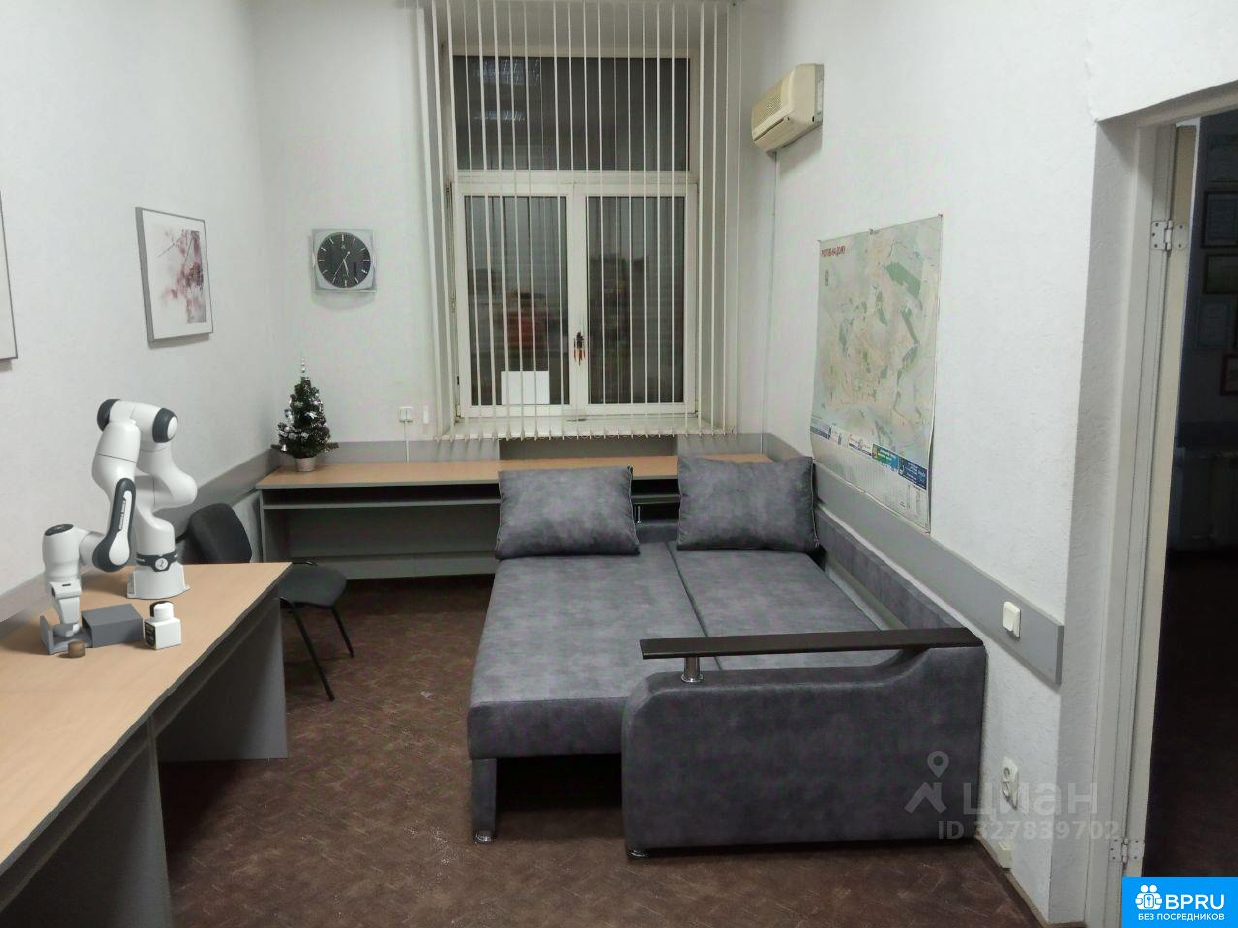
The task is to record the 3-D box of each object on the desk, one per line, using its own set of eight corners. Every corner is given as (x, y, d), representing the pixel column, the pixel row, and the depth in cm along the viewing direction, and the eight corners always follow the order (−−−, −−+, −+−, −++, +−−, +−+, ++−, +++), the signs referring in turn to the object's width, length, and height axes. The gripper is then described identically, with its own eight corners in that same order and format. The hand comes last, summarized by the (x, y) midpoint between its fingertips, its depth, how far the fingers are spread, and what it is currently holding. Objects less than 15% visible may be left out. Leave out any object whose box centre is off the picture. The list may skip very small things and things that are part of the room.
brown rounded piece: (67, 654, 268) (66, 642, 267) (84, 651, 270) (83, 639, 270) (69, 659, 265) (68, 646, 264) (86, 656, 267) (85, 643, 267)
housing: (82, 631, 286) (80, 610, 285) (131, 623, 294) (130, 603, 293) (92, 647, 273) (91, 626, 272) (144, 639, 281) (142, 617, 280)
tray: (41, 638, 280) (39, 615, 278) (93, 629, 287) (91, 607, 286) (49, 654, 267) (48, 631, 266) (104, 645, 275) (102, 622, 274)
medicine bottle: (145, 643, 278) (142, 602, 276) (170, 637, 283) (168, 597, 281) (155, 650, 273) (153, 608, 271) (181, 644, 278) (179, 602, 276)
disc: (51, 631, 277) (51, 624, 276) (77, 627, 281) (76, 620, 280) (55, 638, 272) (54, 631, 271) (81, 633, 276) (80, 626, 275)
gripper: (44, 576, 280) (48, 623, 282) (56, 594, 264) (59, 644, 266) (69, 573, 284) (73, 619, 286) (82, 591, 268) (86, 640, 270)
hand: (66, 631), depth 276 cm, fingers closed on disc, 6 cm apart
